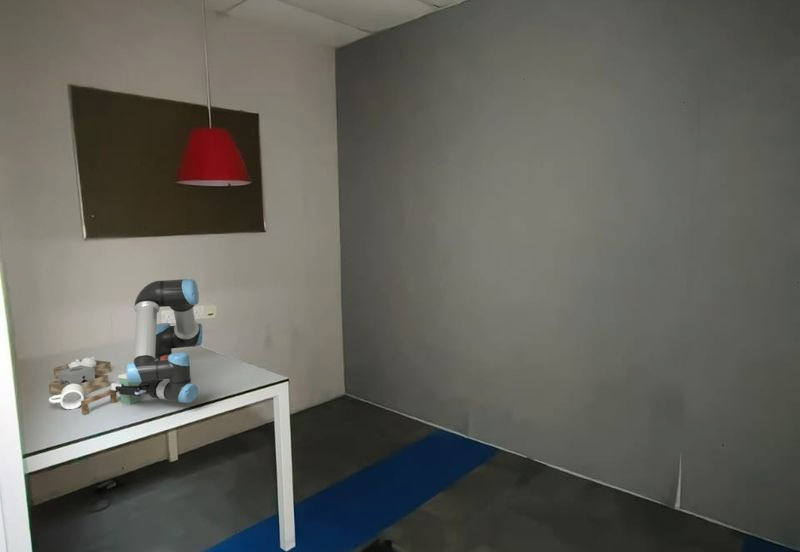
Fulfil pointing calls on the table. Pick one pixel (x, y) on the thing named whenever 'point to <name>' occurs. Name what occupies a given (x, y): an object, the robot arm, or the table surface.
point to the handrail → (85, 402)
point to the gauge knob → (164, 357)
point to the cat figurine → (84, 362)
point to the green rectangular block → (127, 398)
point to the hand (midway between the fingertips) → (120, 383)
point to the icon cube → (76, 375)
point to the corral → (88, 386)
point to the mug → (69, 396)
